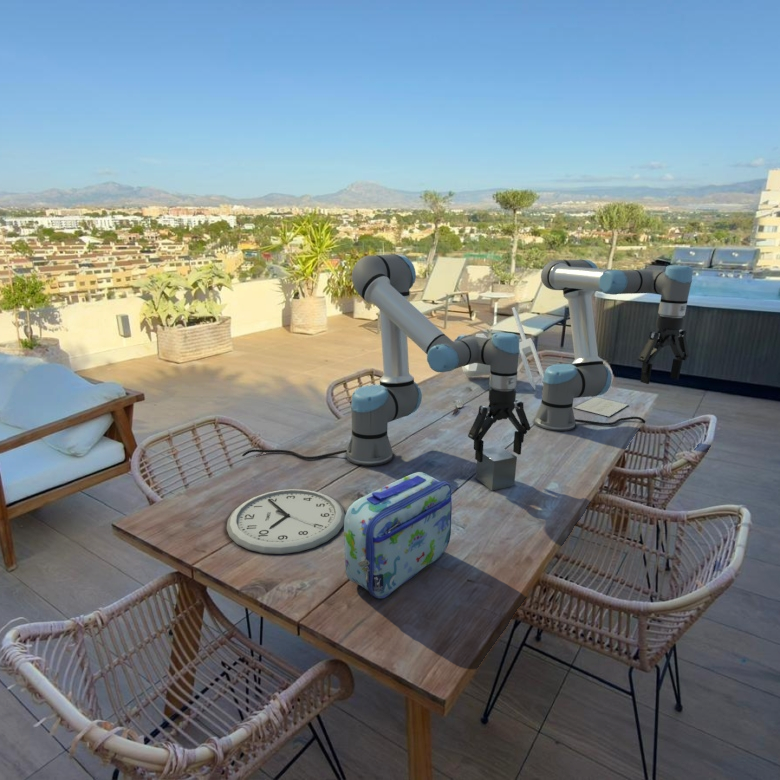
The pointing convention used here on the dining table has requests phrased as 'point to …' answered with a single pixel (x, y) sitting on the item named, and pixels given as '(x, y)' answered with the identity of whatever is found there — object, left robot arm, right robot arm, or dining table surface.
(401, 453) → the dining table surface
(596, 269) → the right robot arm
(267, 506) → the wall clock
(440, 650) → the dining table surface
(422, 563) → the lunch box
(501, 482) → the block
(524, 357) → the white plastic object
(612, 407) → the invitation card
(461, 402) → the fork
